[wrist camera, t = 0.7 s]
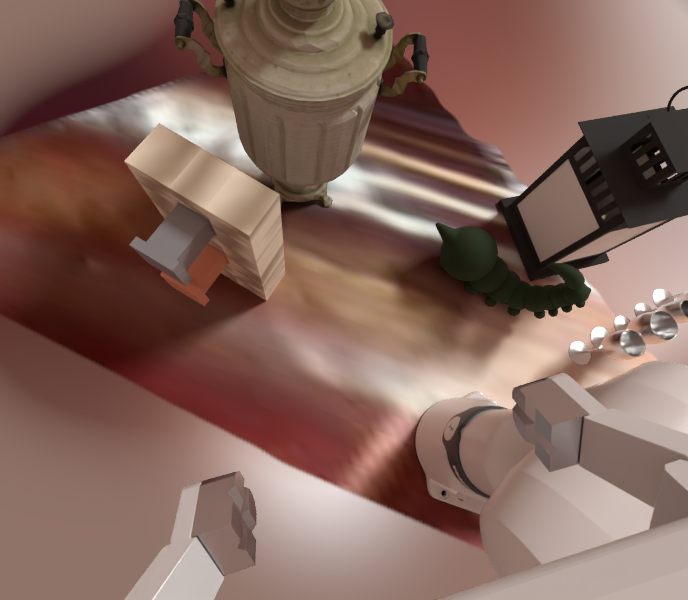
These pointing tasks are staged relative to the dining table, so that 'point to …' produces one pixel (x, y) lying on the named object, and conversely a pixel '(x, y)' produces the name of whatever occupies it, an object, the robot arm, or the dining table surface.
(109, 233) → the dining table surface
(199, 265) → the terracotta plug
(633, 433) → the robot arm
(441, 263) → the toy figurine
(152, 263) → the charcoal plug
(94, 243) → the dining table surface
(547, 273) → the lantern
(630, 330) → the goblet set
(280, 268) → the block
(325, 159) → the samovar
